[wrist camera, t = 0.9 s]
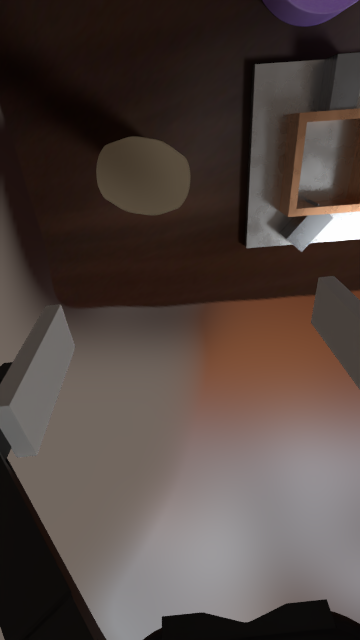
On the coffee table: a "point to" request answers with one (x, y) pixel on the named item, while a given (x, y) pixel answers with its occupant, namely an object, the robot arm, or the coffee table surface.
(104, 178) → the handle
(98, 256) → the coffee table surface
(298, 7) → the masking tape
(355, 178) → the coupling base
